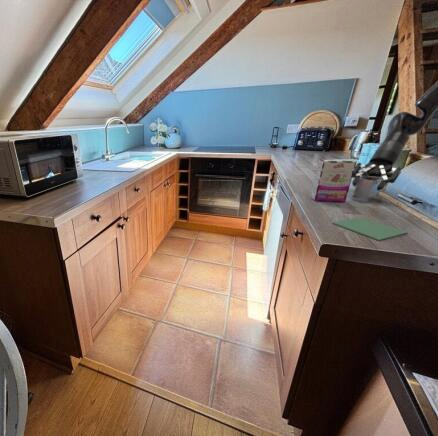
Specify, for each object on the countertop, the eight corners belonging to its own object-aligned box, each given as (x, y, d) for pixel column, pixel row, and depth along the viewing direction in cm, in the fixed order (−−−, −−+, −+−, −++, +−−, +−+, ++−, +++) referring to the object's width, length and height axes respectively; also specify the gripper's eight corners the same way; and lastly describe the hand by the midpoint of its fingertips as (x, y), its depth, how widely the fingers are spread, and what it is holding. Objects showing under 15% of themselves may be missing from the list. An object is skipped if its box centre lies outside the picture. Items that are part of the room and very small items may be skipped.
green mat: (359, 217, 83) (359, 216, 83) (407, 233, 72) (408, 232, 71) (332, 223, 79) (332, 222, 79) (378, 241, 68) (379, 239, 67)
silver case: (351, 199, 101) (358, 178, 97) (359, 196, 104) (366, 175, 101) (366, 202, 97) (373, 180, 93) (373, 199, 101) (381, 177, 97)
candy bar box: (339, 199, 102) (351, 159, 95) (345, 202, 97) (358, 161, 91) (309, 197, 104) (319, 158, 98) (313, 201, 100) (324, 160, 93)
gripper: (410, 163, 96) (389, 196, 94) (365, 158, 107) (345, 188, 106) (411, 150, 91) (389, 185, 90) (364, 147, 102) (343, 178, 101)
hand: (365, 187), depth 98 cm, fingers open, 7 cm apart
